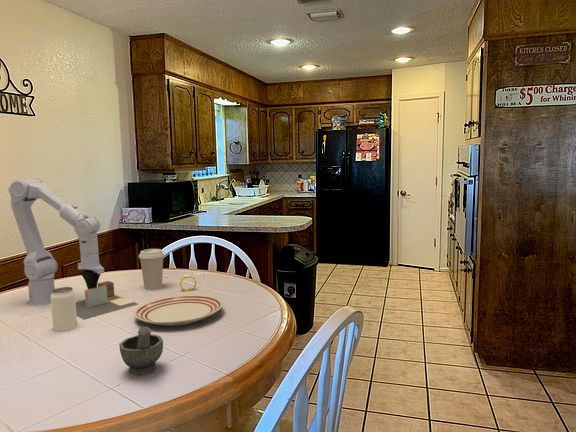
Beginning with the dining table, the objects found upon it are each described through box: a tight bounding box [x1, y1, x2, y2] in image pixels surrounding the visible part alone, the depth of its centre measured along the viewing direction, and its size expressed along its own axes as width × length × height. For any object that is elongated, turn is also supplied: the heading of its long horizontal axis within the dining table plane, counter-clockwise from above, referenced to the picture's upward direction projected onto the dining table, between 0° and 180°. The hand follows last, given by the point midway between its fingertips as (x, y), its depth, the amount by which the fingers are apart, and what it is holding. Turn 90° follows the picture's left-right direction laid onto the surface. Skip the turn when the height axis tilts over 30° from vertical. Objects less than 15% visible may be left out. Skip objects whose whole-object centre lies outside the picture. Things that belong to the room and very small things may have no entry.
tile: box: [84, 285, 108, 308], centre depth 152 cm, size 2×7×6 cm, turn 139°
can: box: [50, 286, 78, 332], centre depth 132 cm, size 6×6×12 cm
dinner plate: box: [133, 294, 223, 327], centre depth 141 cm, size 27×27×3 cm
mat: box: [75, 294, 139, 320], centre depth 152 cm, size 20×19×1 cm
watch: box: [179, 274, 197, 292], centre depth 169 cm, size 6×3×6 cm, turn 108°
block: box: [97, 280, 115, 297], centre depth 162 cm, size 4×4×5 cm
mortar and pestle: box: [118, 326, 164, 377], centre depth 104 cm, size 11×9×12 cm
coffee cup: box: [138, 248, 165, 291], centre depth 172 cm, size 10×10×15 cm
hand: (92, 290), depth 154 cm, fingers closed
